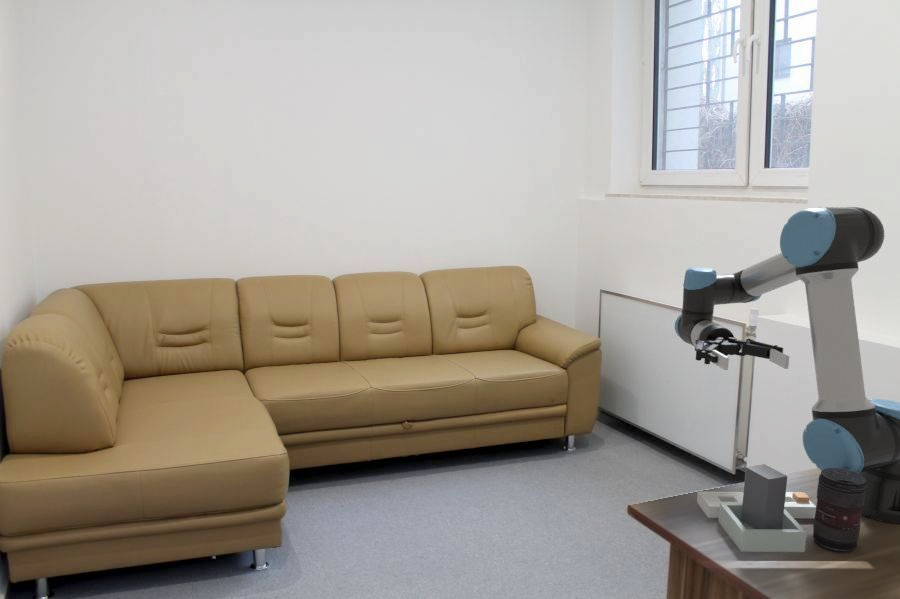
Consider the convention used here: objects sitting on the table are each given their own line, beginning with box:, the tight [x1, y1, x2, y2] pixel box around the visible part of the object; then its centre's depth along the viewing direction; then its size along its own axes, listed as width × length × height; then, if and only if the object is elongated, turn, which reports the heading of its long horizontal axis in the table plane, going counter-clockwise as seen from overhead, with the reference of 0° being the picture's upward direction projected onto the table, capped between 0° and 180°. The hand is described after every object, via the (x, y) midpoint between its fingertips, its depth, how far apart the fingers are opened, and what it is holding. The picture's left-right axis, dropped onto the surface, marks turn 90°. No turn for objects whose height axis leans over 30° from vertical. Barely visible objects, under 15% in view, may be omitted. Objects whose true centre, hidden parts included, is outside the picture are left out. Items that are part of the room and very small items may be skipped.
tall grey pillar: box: [741, 463, 788, 529], centre depth 152 cm, size 4×6×13 cm
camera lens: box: [812, 468, 867, 554], centre depth 149 cm, size 8×8×15 cm
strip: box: [696, 491, 816, 520], centre depth 164 cm, size 22×7×4 cm, turn 91°
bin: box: [717, 503, 808, 553], centre depth 153 cm, size 12×12×5 cm
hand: (757, 363), depth 168 cm, fingers open, 13 cm apart
